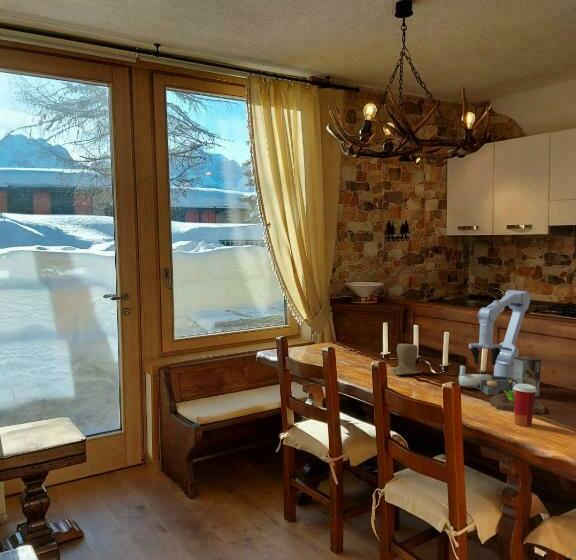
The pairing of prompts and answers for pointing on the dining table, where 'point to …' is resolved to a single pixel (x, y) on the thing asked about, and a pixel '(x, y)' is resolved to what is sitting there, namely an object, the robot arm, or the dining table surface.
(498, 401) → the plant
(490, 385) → the plunger
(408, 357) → the grey top hat
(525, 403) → the paper cup
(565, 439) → the dining table surface
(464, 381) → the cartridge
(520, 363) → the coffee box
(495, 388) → the housing
